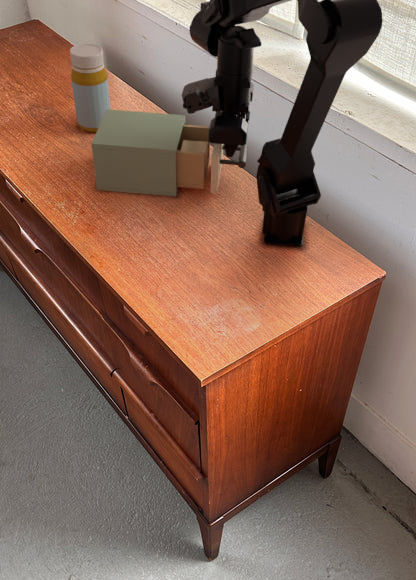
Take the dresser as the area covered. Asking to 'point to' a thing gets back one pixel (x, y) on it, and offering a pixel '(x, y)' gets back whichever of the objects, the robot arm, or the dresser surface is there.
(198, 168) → the drawer
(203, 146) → the block
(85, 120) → the bottle
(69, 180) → the dresser surface
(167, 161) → the cabinet
